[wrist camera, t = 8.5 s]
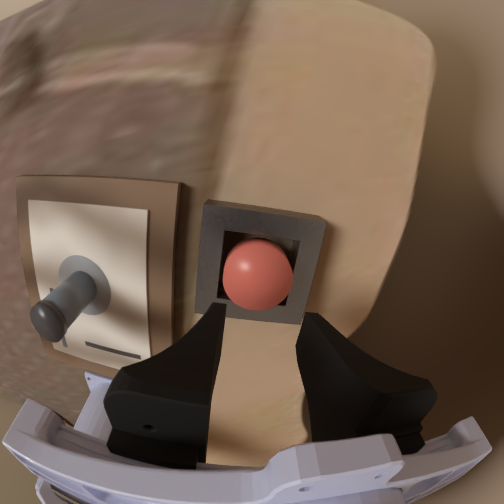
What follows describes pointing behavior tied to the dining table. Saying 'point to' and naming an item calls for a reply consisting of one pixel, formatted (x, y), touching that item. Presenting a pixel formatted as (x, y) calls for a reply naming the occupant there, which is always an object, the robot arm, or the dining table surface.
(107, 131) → the dining table surface
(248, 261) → the button
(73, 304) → the gray capped cylinder
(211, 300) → the button housing
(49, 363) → the dining table surface
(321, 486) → the robot arm
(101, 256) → the drawing board
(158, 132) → the dining table surface
